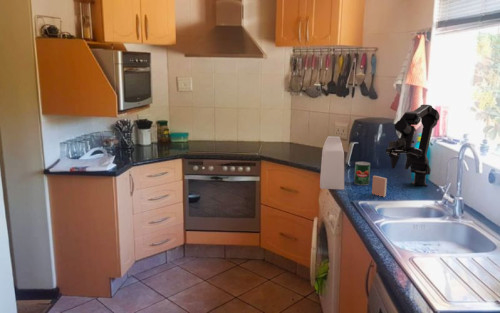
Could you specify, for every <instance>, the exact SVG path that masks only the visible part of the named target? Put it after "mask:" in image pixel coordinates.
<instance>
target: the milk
mask: <svg viewBox="0 0 500 313" xmlns="http://www.w3.org/2000/svg"><path fill="white" fill-rule="evenodd" d="M321 151H322V152H321V154H322V155H321V167H320V177H319V178H320V179H319V188H320V189H321V190H345V152H344V147H343V143H342V139H341V136H327V137H326V139H325V141H324V144H323V147H322V150H321Z"/></svg>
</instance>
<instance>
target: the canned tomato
mask: <svg viewBox="0 0 500 313" xmlns="http://www.w3.org/2000/svg"><path fill="white" fill-rule="evenodd" d="M370 175H371V162H368V161H355V162H354V176H353V177H354V178H353V179H354V182H353V184H354V185H358V186H368V185H370V179H371V178H370Z"/></svg>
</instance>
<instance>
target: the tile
mask: <svg viewBox="0 0 500 313" xmlns="http://www.w3.org/2000/svg"><path fill="white" fill-rule="evenodd" d="M387 184H388V179H387V177H382V176H379V175H373V176H372V186H371V187H372V188H371V194H372V195H374V194H375V196H378V195H379V197H381V196H383V197H382V198H386V197H387ZM385 196H386V197H385Z"/></svg>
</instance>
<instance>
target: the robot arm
mask: <svg viewBox="0 0 500 313" xmlns="http://www.w3.org/2000/svg"><path fill="white" fill-rule="evenodd" d="M439 120H440V113H439V112H438V110H437V109H435V108H434V107H433V106H432V105H431V104H421V105H420V106H419V107H417V108H416V109H415V110H413V111H412V110H411V111H405V112H404V113H403V115H402V116H401V118H400V119H399V120H397V121H396V123H394V129H395V130H396V131H397V132H398V133H399V134H400V137H397V140H389V141H388V147H387V148H386V149H385V153H386V154H387V156H389V158H390V165H391V169H393V170H394V169H395V168H396V165H397V164H398V161H399V159H400V155H401V154H403V155H404V154H405V156H406V159H405V160H406V161H405V170H408V169H410V173H413V174H414V178H413V181H412V182H411V183H412V184H413V186H417V187H420V186H421V187H422V186H424V187H428V184H427V183H426V182H427V181H426V179H427V176H429V175H431V171H432V170H431V167H430V160H429V158H428V156H427V155H428V151H429V146H430V142H431V138H432V133H433V129H434V128H435V127H436V126H437V125H438V121H439ZM420 123H421V124H422V131H421V135H420V138H419V144H418V148H417V147H415V146H412V144H415V140H414V137H415V132H416V131H417V129H416V127H415V126H418V124H420Z"/></svg>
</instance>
